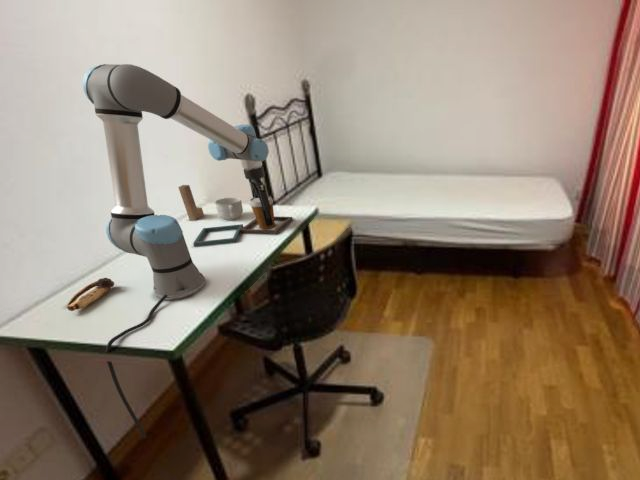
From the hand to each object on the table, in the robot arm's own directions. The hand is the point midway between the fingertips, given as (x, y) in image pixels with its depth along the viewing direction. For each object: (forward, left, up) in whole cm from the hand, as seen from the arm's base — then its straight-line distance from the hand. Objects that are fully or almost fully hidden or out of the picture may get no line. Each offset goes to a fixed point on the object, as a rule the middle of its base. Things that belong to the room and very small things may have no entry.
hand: (266, 222), depth 189 cm
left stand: (-12, +15, -2) cm, 19 cm away
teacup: (+8, +21, -2) cm, 23 cm away
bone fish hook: (-64, +29, -2) cm, 70 cm away
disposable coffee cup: (0, 0, -2) cm, 2 cm away
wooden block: (+8, +39, -2) cm, 40 cm away
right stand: (0, 0, -2) cm, 2 cm away
